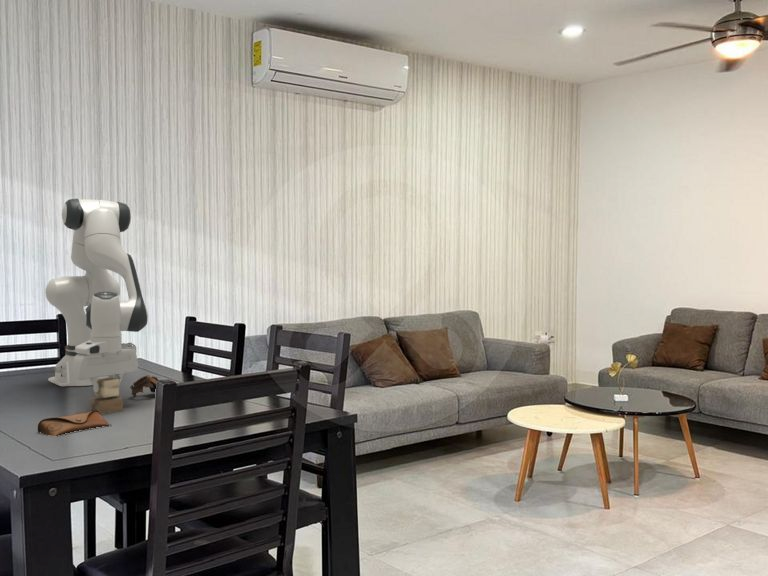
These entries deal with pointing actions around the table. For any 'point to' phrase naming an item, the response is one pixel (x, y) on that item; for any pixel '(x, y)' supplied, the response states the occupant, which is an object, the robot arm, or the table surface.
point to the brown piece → (144, 384)
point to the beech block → (108, 387)
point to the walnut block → (107, 404)
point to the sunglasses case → (71, 423)
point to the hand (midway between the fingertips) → (106, 390)
